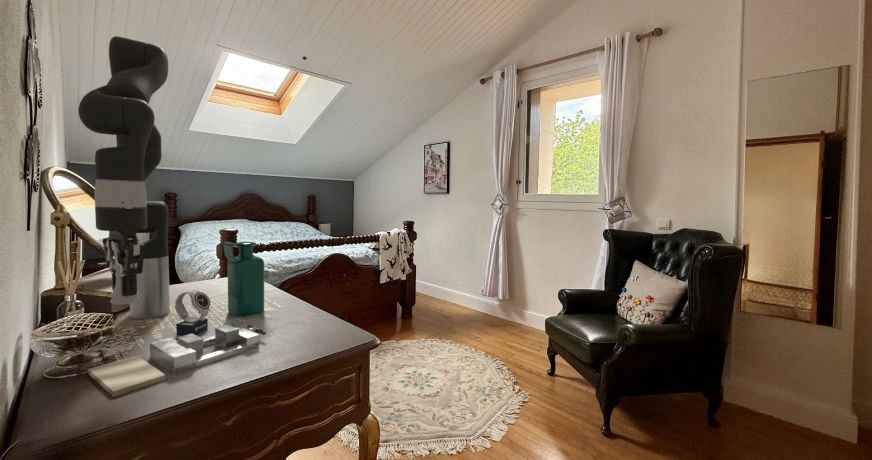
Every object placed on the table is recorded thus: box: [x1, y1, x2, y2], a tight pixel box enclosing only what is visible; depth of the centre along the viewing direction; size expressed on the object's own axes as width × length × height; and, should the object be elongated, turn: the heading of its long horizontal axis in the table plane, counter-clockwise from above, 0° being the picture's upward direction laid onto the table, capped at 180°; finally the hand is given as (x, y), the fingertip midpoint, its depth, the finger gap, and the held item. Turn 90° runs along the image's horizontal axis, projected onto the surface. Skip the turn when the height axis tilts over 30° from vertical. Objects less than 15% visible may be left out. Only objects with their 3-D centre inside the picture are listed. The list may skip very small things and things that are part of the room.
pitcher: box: [222, 241, 265, 318], centre depth 114 cm, size 10×8×22 cm
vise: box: [149, 323, 267, 375], centre depth 87 cm, size 12×21×4 cm, turn 147°
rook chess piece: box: [109, 262, 139, 306], centre depth 72 cm, size 4×4×8 cm
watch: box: [174, 289, 211, 337], centre depth 97 cm, size 6×8×11 cm
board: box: [87, 355, 166, 398], centre depth 74 cm, size 14×8×1 cm, turn 57°
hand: (124, 292), depth 72 cm, fingers closed on rook chess piece, 4 cm apart
